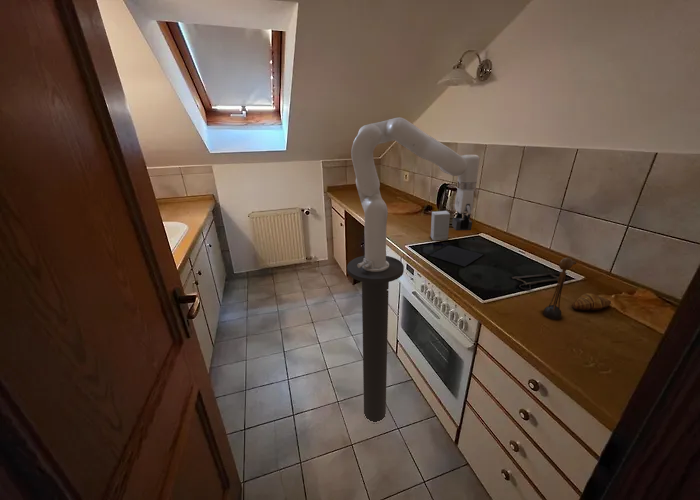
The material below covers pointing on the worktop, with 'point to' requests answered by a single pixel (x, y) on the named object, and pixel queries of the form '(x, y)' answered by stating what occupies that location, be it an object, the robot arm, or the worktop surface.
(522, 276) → the hacksaw
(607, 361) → the worktop surface
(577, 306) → the croissant
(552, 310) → the wooden tabletop sculpture
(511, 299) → the worktop surface
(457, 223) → the tape measure
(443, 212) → the cosmetic box
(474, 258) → the mat
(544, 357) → the worktop surface
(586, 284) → the worktop surface
